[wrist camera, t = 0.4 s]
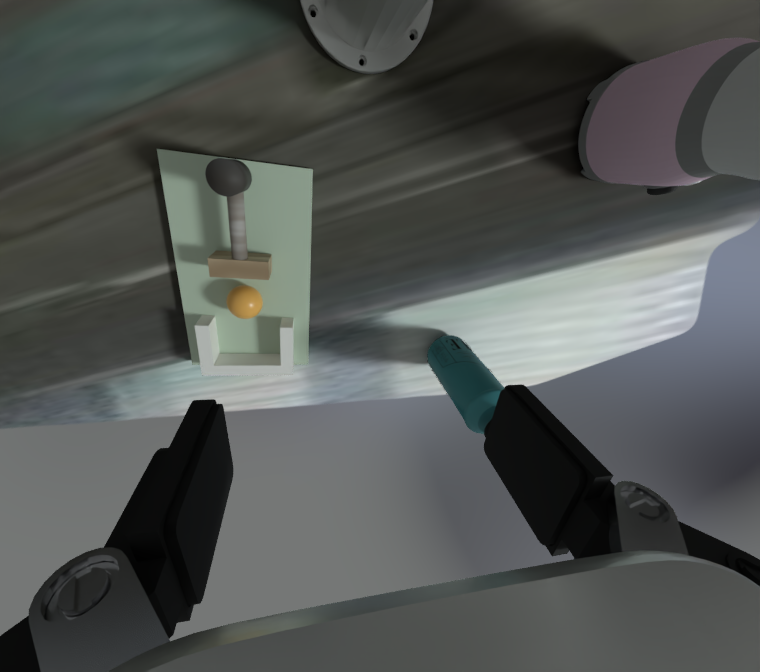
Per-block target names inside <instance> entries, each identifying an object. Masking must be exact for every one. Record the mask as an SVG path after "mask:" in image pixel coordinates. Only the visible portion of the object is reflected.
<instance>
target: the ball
mask: <svg viewBox="0 0 760 672" xmlns="http://www.w3.org/2000/svg"><path fill="white" fill-rule="evenodd" d="M226 303H227V307H228V309H229V311H230V312H231V313H232V314H233V315H234V316H236V317H238V318H241V319H250V318H253V317H255V316H256V315H258V314H259V312H260V311H261V309H262V306H263V299H262V296H261V294H260V293H259V292H258V291H257V290H256V289H255V288H253V287H251V286H248V285H240V286H237V287H235V288H233V289H232V290H231V291H230V292H229V294H228V296H227V300H226Z"/></svg>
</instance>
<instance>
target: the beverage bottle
mask: <svg viewBox="0 0 760 672" xmlns="http://www.w3.org/2000/svg"><path fill="white" fill-rule="evenodd" d="M427 357H428V360H427V362H429V365H430V366H431V368H432V369H433V370H432V369H431V370H432V372H433V371H434V372H433V373H434V374H436V376H437V377H438V379H439V382H441V383H440V384H442V385H441V386H443V387H444V389H445V390H446V391H445V392H447V393H448V395H449V396H450V398H451V399H452V401H453V402H454V404H455V406H456V408H457V409H458V411H459V412H460V414H461V415H462V417H463V419H464V421H465V423H466V425H467V427H468V428H469V429H471V430H472V431H474V432H476V433H481V434H484V435H485V437H486V436H487V433H488V430H489V427H490V423H491V420H492V417H493V414H494V411H495V407H496V404H497V401H498V398H499V395H500V392H501V391H502V390H504V387H503V386H502V385H501V384H500V383H499V381H498V380H497V379H496V378H495V377H494V375H493V374H492V373H491V372H490V371H489V370H490V369H488V368H487V367H486V366H485V365H484V364H483V363H482V362H481V361H480V360H479V358H478V357H477V356H476V355H475V354H474V353H473V352H472V350H471V349H470V347H468V346H467V345H466V344H465V343H464V342H463V341H462V339H460V338H458V337H456V336H443V337H441V338H439V339H437V340H436V341H435V342H433V344H432V345H431V346H430V348H429V350H428V354H427ZM443 387H442V388H443ZM447 393H446V394H447Z"/></svg>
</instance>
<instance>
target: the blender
mask: <svg viewBox="0 0 760 672" xmlns="http://www.w3.org/2000/svg"><path fill="white" fill-rule="evenodd" d="M587 100H588V101H589V102H590V104H589V106H588V108H587V110H586V112H585V115H584V117H583V120H582V124H581V127H580V133H579V142H578V148H579V156H580V161H581V163H582V166H583V170H582V171H581V173H582V174H583V175H584V176H585V177H587V178H589V179H591V180H596V181H599V182H603V183H622V184H635V185H644V187H645V188H647V193H648V194H650V195H661V194H667V193H670V192H673V191H675V190H676V189H677V188H678V186H680V185H692V184H696V183H699V182H701V180H704V179H707V178H709V177H712V176H714V175H718V174H730V175H738V176H742V177H745V178H748V179H755V180H760V42H759V41H756V40H753V39H748V38H726V39H720V40H715V41H710V42H707V43H703V44H700V45H696V46H693V47H690V48H686V49H683V50H680V51H677V52H674V53H671V54H668V55H664V56H661V57H658V58H655V59H652V60H645V61H641V62H638V63H635V64H632V65H628V66H626V67H624V68H622V69H620V70H619V71H617V72H616V73H614V74H613V75H612V76H611V77H610V78H608V79H607V80H605V81H603V82H600V83H599V84H598V85H597V86H596V87H595V88H594V89H593V91H592V92H591V93H590V95H589V96H588V98H587Z"/></svg>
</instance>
